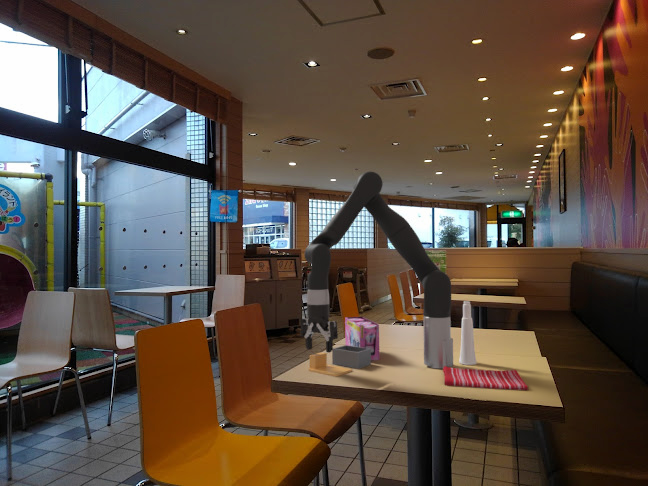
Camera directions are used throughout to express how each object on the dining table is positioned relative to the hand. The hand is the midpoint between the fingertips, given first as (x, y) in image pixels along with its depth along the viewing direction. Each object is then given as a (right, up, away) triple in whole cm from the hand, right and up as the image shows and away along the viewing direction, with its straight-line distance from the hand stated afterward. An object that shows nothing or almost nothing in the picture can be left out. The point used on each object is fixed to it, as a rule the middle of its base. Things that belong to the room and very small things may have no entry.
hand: (319, 350), depth 156 cm
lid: (+4, -6, -3) cm, 8 cm away
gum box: (+16, -8, +23) cm, 29 cm away
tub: (+11, -7, +6) cm, 15 cm away
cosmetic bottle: (+53, -7, +9) cm, 54 cm away
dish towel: (+51, -7, -13) cm, 53 cm away
